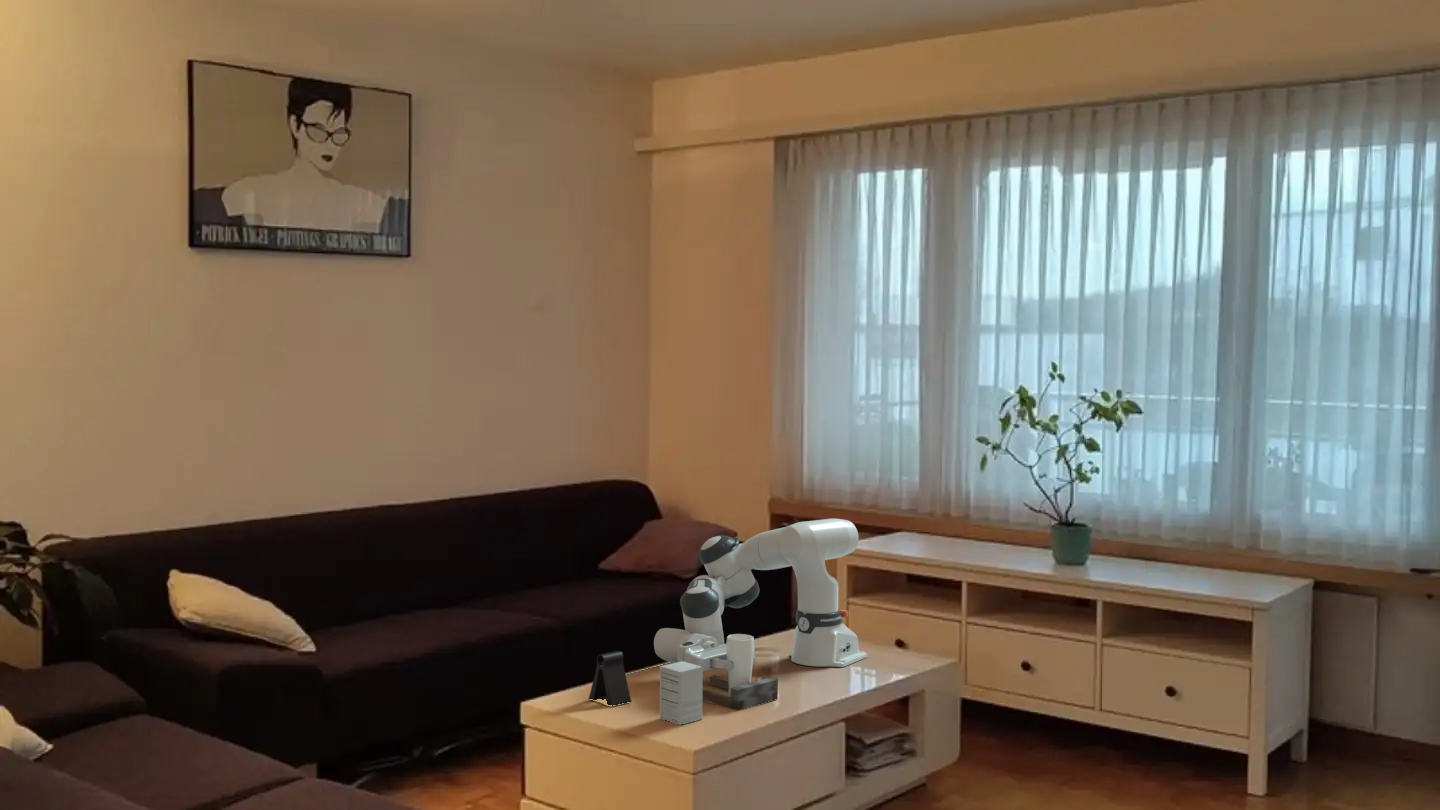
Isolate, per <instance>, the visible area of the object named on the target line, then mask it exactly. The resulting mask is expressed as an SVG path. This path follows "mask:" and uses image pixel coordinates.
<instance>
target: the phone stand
mask: <svg viewBox="0 0 1440 810" xmlns="http://www.w3.org/2000/svg"><path fill="white" fill-rule="evenodd" d="M626 676H627V675H626V671H625V665H624V654H623V652H622V651H619V650H614V651H611V652H606V653H605V652H604V653H600V654H598V655H597V657H596V669H595V672H594V677H593V681H592V685H591V687H590V692H589V696H588V700H589V699H593V700H597V699H602V700H604V699H606V701H607V704H608V705H612V706H613V705H618V704H622V703H627V702H631V703H632V698H631V694H630V689H629V685H628V680H627V677H626ZM627 704H628V703H627Z"/></svg>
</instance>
